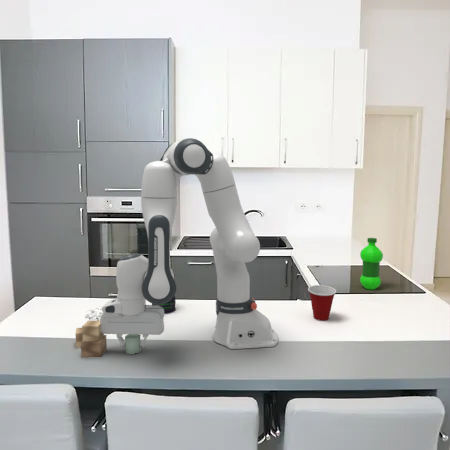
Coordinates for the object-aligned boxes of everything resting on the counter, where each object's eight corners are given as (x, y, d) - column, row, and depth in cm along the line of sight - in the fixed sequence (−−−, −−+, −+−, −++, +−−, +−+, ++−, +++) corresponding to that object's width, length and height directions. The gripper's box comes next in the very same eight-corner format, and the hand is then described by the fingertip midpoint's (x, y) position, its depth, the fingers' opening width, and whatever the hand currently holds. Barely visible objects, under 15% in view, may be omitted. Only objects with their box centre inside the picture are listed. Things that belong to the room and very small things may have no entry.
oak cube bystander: (92, 340, 141) (91, 326, 140) (92, 346, 136) (91, 331, 136) (76, 342, 139) (76, 328, 139) (76, 348, 135) (75, 333, 134)
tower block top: (103, 335, 132) (103, 320, 132) (98, 341, 127) (97, 326, 127) (88, 335, 133) (88, 320, 132) (82, 341, 128) (82, 326, 127)
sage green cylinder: (142, 348, 134) (141, 333, 134) (138, 354, 129) (138, 339, 129) (127, 348, 134) (127, 333, 134) (123, 354, 130) (123, 339, 129)
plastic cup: (310, 323, 156) (311, 292, 154) (304, 313, 167) (305, 285, 165) (339, 323, 156) (340, 292, 155) (330, 313, 167) (331, 284, 165)
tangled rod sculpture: (78, 325, 159) (77, 315, 158) (93, 309, 173) (92, 300, 172) (127, 325, 157) (126, 315, 156) (138, 309, 171) (137, 300, 170)
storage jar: (173, 305, 178) (172, 271, 176) (177, 312, 168) (177, 277, 167) (150, 307, 175) (149, 273, 173) (153, 315, 165) (152, 279, 163)
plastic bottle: (355, 288, 203) (357, 238, 200) (366, 284, 211) (367, 236, 207) (374, 292, 196) (376, 240, 193) (384, 288, 203) (387, 238, 200)
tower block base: (106, 349, 133) (106, 335, 133) (100, 357, 128) (99, 342, 127) (88, 349, 134) (88, 334, 133) (81, 357, 128) (80, 342, 127)
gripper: (166, 302, 133) (166, 343, 134) (103, 301, 134) (105, 341, 135) (162, 308, 126) (163, 351, 128) (96, 307, 127) (98, 350, 129)
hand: (132, 346), depth 132 cm, fingers closed on sage green cylinder, 5 cm apart
